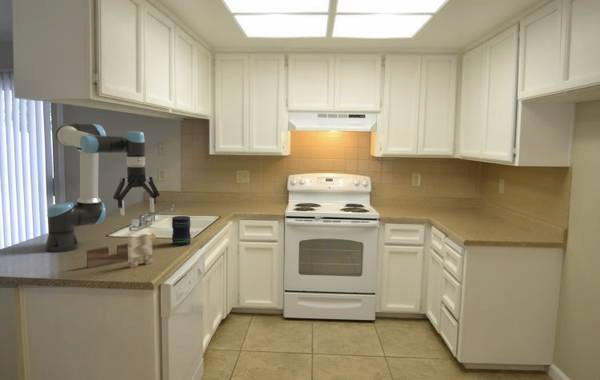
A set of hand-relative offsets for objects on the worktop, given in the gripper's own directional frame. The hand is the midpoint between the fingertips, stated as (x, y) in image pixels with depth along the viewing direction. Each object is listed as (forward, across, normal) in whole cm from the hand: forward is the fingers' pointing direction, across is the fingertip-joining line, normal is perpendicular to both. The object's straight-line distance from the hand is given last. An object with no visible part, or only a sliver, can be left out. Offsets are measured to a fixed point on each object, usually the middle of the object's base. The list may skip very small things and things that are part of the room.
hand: (137, 213), depth 184 cm
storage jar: (+24, +34, +23) cm, 47 cm away
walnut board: (+24, -7, +11) cm, 27 cm away
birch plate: (+24, +1, 0) cm, 24 cm away
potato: (+24, +14, +25) cm, 37 cm away
